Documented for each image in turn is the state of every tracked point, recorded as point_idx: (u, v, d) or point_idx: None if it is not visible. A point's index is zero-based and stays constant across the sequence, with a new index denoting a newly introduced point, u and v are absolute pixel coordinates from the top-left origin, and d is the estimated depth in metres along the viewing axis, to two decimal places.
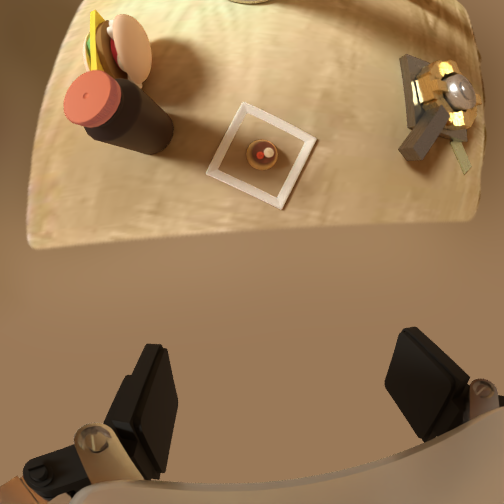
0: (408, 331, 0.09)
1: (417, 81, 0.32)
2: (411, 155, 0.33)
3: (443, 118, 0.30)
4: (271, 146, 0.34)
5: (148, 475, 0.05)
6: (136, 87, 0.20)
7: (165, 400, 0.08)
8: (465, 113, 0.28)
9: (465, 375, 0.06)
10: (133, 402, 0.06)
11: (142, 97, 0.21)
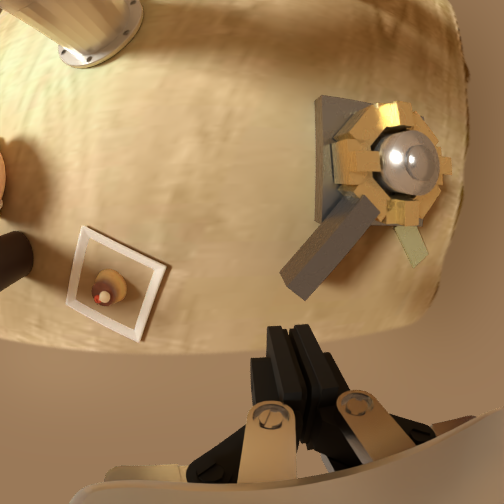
0: (296, 328, 0.10)
1: (333, 145, 0.25)
2: None
3: (363, 221, 0.23)
4: (108, 288, 0.28)
5: None
6: None
7: None
8: (412, 203, 0.22)
9: (334, 383, 0.07)
10: (292, 374, 0.07)
11: None
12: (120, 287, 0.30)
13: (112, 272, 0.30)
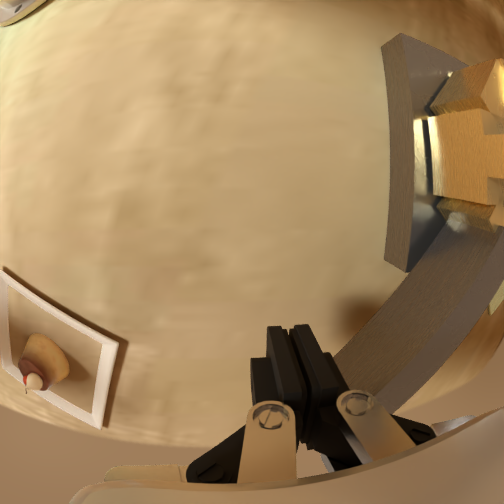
0: (296, 328, 0.10)
1: (434, 122, 0.10)
2: None
3: (495, 278, 0.09)
4: (36, 369, 0.13)
5: None
6: None
7: None
8: None
9: (334, 383, 0.07)
10: (292, 374, 0.07)
11: None
12: (57, 365, 0.15)
13: (43, 340, 0.15)
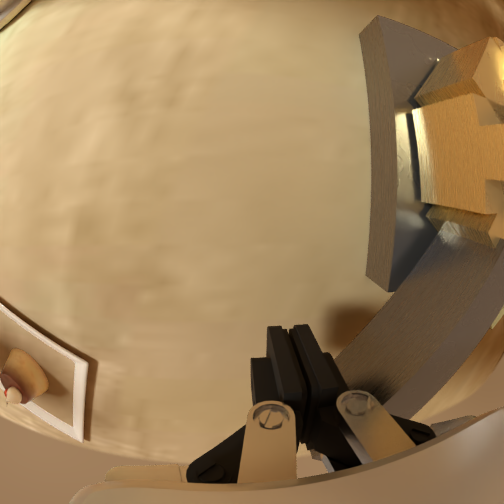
0: (296, 328, 0.10)
1: (419, 114, 0.09)
2: None
3: (495, 302, 0.07)
4: (15, 383, 0.12)
5: None
6: None
7: None
8: None
9: (333, 383, 0.07)
10: (292, 374, 0.07)
11: None
12: (35, 380, 0.14)
13: (22, 356, 0.14)
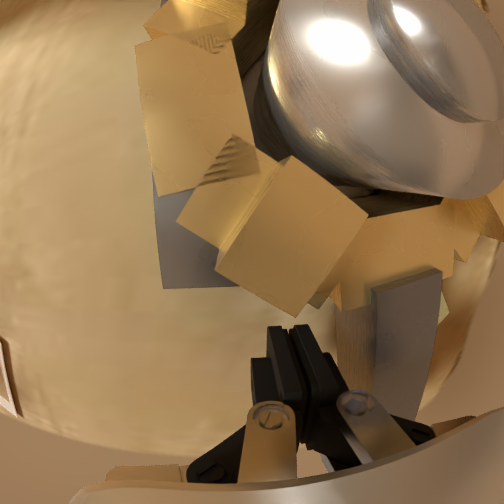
0: (296, 328, 0.10)
1: None
2: None
3: (417, 333, 0.07)
4: None
5: None
6: None
7: None
8: None
9: (334, 384, 0.07)
10: (293, 374, 0.07)
11: None
12: None
13: None
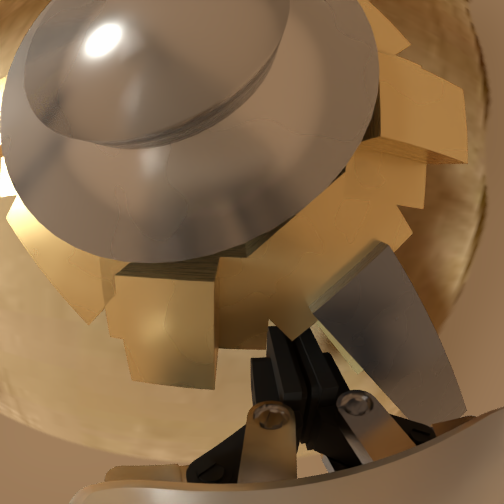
0: None
1: None
2: None
3: (395, 318, 0.06)
4: None
5: None
6: None
7: None
8: (390, 93, 0.04)
9: (334, 383, 0.07)
10: (292, 374, 0.07)
11: None
12: None
13: None
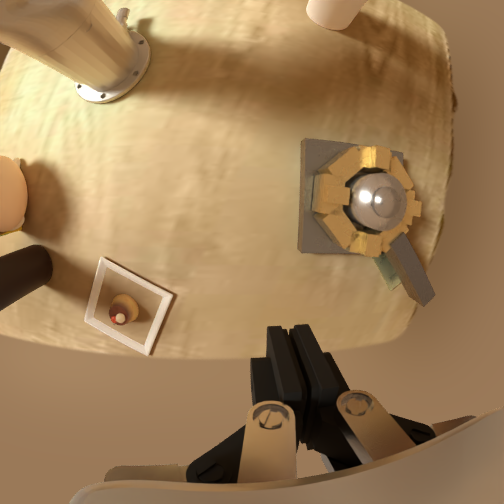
0: (296, 328, 0.10)
1: None
2: None
3: (406, 249, 0.29)
4: (123, 311, 0.34)
5: None
6: None
7: None
8: (407, 206, 0.26)
9: (334, 383, 0.07)
10: (292, 374, 0.07)
11: None
12: (133, 310, 0.36)
13: (126, 297, 0.36)
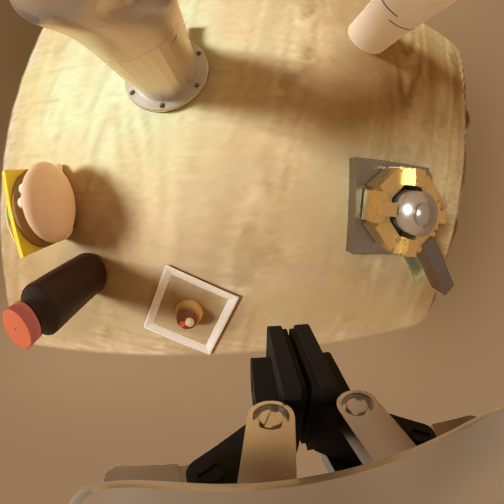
0: (296, 328, 0.10)
1: (383, 247, 0.37)
2: None
3: (433, 249, 0.34)
4: (192, 315, 0.39)
5: None
6: (50, 298, 0.24)
7: None
8: None
9: (334, 383, 0.07)
10: (292, 374, 0.07)
11: (57, 305, 0.25)
12: (200, 313, 0.40)
13: (192, 302, 0.41)
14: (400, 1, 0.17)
